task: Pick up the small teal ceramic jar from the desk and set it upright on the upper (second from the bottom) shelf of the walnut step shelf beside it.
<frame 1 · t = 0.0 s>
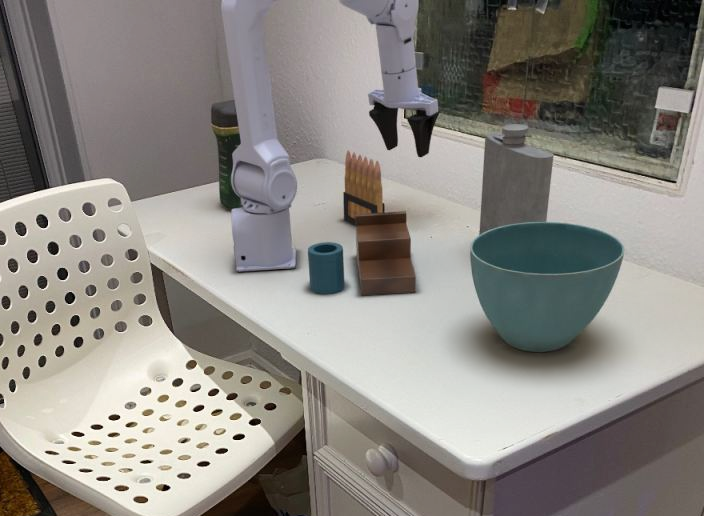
hand: (407, 151, 143), 11 cm above the table, tool pointing down, fingers open, 7 cm apart
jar: (327, 287, 124), on the table
coffee jar: (246, 205, 159), on the table
step shelf: (384, 274, 127), on the table
teal bowl: (535, 339, 107), on the table
ammunition clip: (364, 228, 145), on the table
hip flask: (505, 264, 127), on the table
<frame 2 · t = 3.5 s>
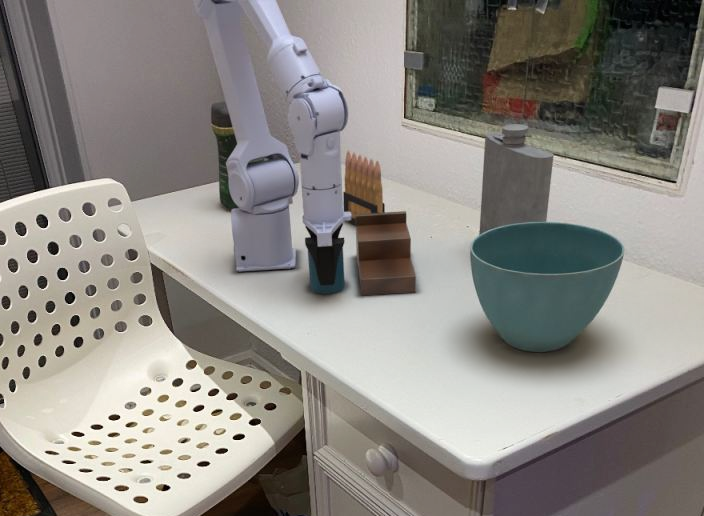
hand: (326, 277, 123), 2 cm above the table, tool pointing down, fingers closed on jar, 5 cm apart
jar: (327, 287, 124), on the table, touching gripper
everything else where it was.
when the fingers open (7 cm above the table, at t = 7.2 s): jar stays where it is, resting on step shelf.
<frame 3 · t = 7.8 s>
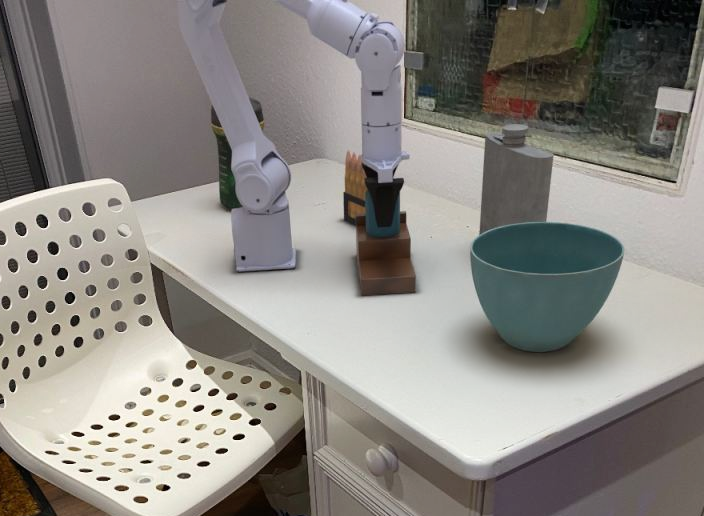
hand: (382, 218, 125), 8 cm above the table, tool pointing down, fingers open, 7 cm apart
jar: (382, 231, 126), point 5 cm above the table, touching step shelf
everything else where it was.
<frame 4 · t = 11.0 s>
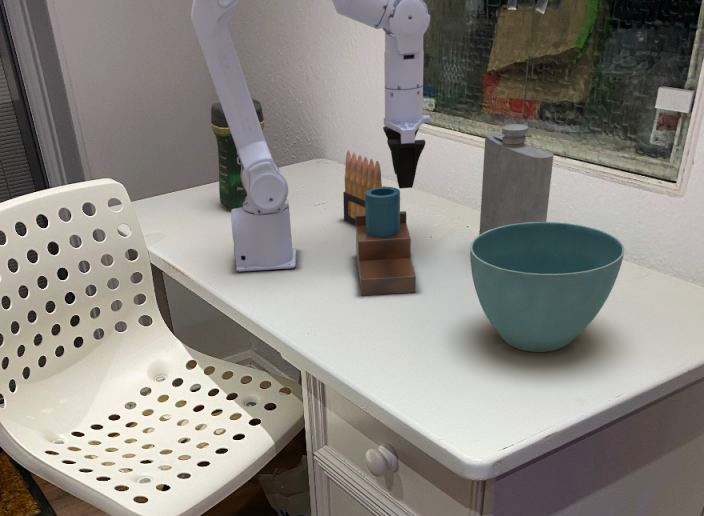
hand: (403, 180, 130), 10 cm above the table, tool pointing down, fingers open, 7 cm apart
nothing on the table moved.
at the end: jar 0.2 cm from the target spot on the step shelf, point 5.5 cm above the step shelf's base; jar tilted 0°; the gripper is holding nothing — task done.
